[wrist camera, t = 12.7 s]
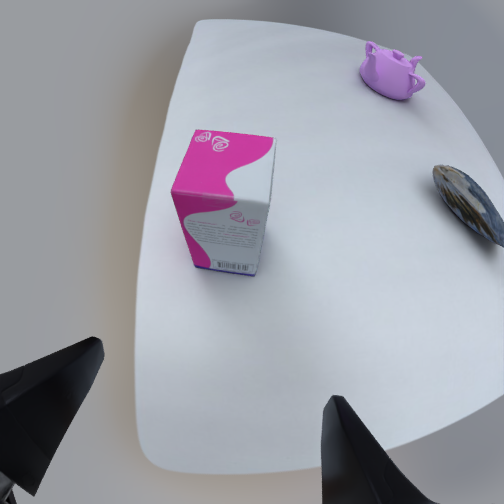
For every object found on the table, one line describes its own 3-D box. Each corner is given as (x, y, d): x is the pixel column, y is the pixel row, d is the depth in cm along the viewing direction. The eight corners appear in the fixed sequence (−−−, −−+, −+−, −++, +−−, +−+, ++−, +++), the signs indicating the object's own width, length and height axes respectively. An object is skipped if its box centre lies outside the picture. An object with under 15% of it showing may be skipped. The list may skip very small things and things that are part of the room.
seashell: (442, 261, 27) (468, 243, 23) (413, 176, 32) (431, 153, 28) (502, 257, 28) (523, 244, 24) (476, 188, 33) (493, 171, 29)
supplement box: (263, 221, 27) (280, 136, 17) (255, 278, 25) (271, 209, 15) (206, 213, 27) (194, 125, 17) (192, 267, 25) (166, 195, 15)
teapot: (407, 85, 44) (422, 55, 36) (412, 116, 39) (432, 80, 31) (358, 63, 45) (369, 31, 37) (353, 88, 40) (368, 49, 32)
